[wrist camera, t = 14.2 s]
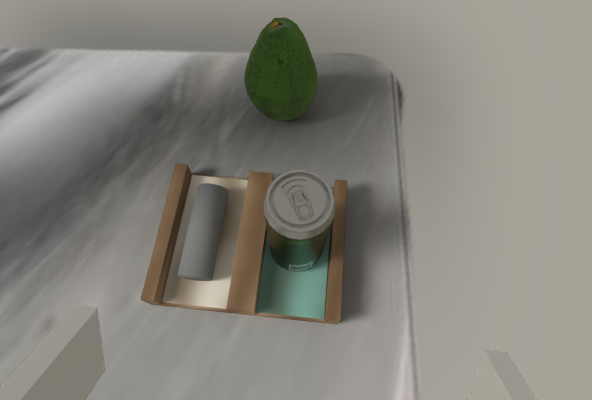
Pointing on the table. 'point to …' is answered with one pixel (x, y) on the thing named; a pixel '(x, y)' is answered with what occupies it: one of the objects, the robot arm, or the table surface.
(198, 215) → the smooth gray cylinder
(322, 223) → the beer can
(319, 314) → the caddy
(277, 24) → the avocado
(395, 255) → the table surface
